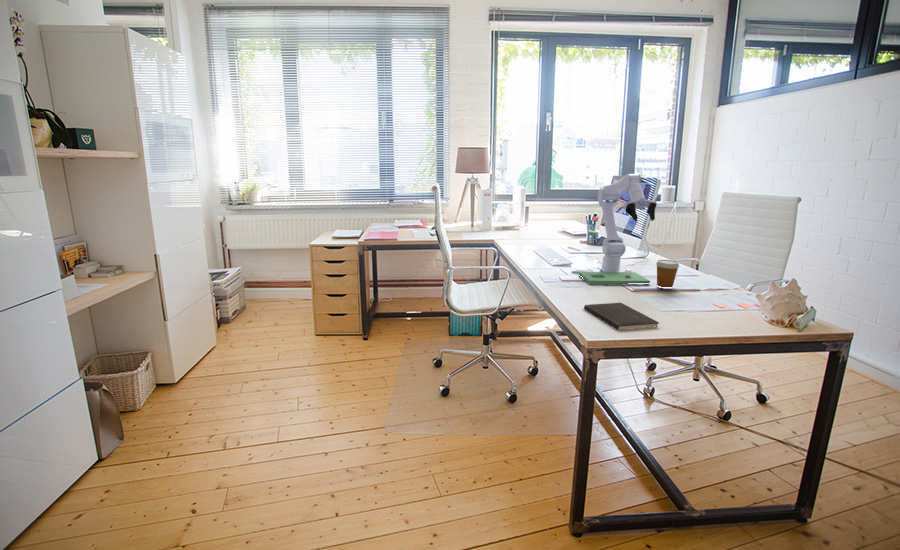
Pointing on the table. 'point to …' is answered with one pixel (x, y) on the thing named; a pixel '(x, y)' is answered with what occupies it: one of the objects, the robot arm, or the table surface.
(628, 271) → the ball
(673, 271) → the disposable coffee cup
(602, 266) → the robot arm
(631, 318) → the hardcover book
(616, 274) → the putting mat
